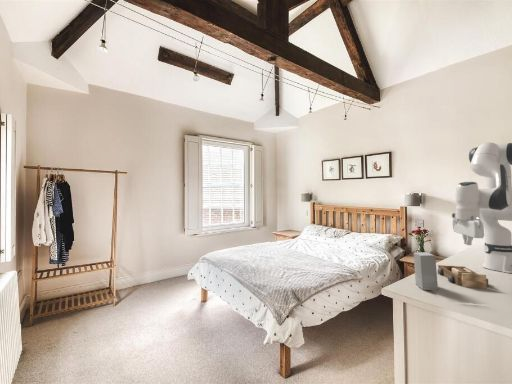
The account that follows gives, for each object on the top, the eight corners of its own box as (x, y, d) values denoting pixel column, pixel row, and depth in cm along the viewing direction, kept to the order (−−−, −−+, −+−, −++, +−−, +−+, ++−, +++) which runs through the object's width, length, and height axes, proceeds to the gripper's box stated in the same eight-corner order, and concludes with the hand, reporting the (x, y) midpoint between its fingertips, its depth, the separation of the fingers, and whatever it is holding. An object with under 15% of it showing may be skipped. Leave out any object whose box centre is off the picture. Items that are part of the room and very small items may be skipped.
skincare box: (438, 291, 115) (438, 255, 115) (420, 290, 116) (420, 255, 117) (429, 284, 123) (429, 251, 123) (413, 283, 125) (413, 251, 125)
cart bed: (467, 275, 138) (467, 266, 138) (491, 289, 117) (491, 279, 117) (435, 272, 142) (435, 264, 142) (454, 286, 121) (454, 276, 121)
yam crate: (465, 276, 131) (465, 267, 131) (472, 280, 125) (471, 270, 125) (451, 275, 133) (451, 266, 133) (457, 279, 127) (457, 270, 127)
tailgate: (485, 288, 118) (485, 274, 118) (486, 289, 117) (486, 275, 117) (461, 286, 120) (461, 272, 120) (462, 287, 119) (462, 273, 119)
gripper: (488, 217, 113) (489, 249, 112) (464, 214, 132) (464, 241, 132) (471, 217, 114) (472, 248, 114) (449, 213, 134) (450, 240, 134)
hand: (467, 244), depth 123 cm, fingers closed
